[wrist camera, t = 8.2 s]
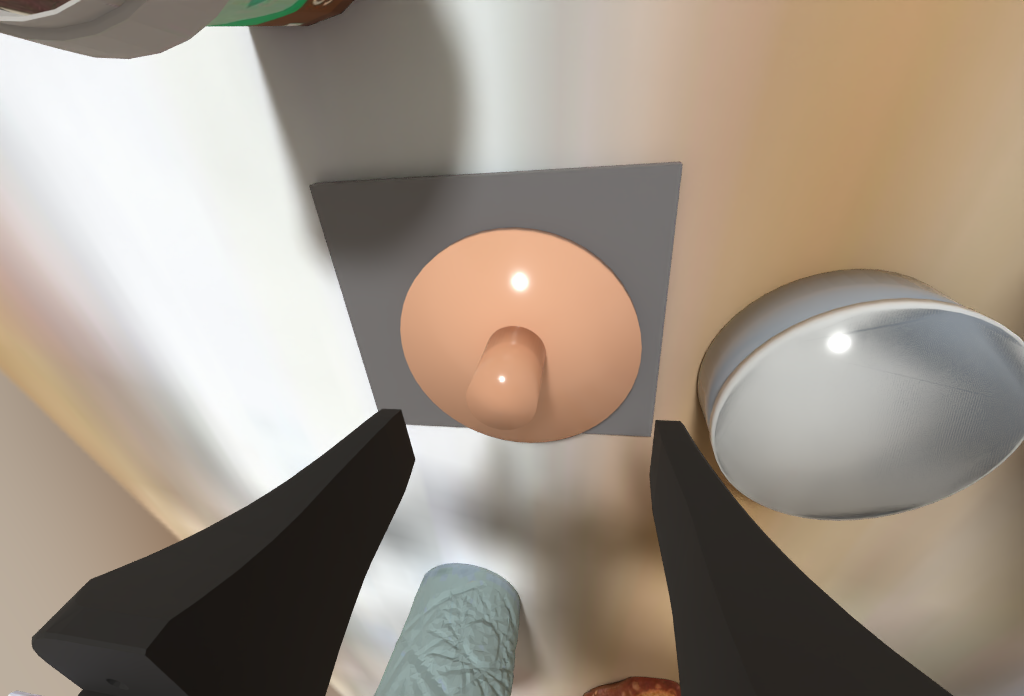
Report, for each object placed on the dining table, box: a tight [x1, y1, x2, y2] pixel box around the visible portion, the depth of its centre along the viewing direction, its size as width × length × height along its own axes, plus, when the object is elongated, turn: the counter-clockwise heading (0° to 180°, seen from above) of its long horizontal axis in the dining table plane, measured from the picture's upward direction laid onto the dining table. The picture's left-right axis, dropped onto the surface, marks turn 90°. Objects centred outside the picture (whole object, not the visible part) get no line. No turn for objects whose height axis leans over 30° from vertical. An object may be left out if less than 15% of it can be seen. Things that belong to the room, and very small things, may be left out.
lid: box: [400, 227, 642, 443], centre depth 20 cm, size 12×12×5 cm
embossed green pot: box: [374, 563, 520, 696], centre depth 31 cm, size 10×10×12 cm
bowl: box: [698, 269, 1024, 521], centre depth 19 cm, size 11×11×4 cm
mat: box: [310, 162, 682, 437], centre depth 22 cm, size 16×14×1 cm
